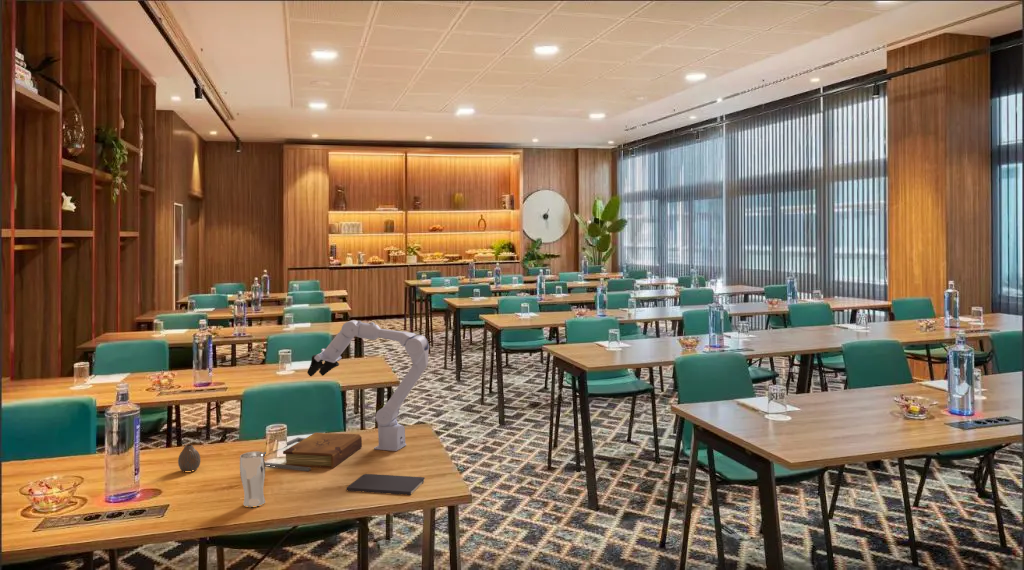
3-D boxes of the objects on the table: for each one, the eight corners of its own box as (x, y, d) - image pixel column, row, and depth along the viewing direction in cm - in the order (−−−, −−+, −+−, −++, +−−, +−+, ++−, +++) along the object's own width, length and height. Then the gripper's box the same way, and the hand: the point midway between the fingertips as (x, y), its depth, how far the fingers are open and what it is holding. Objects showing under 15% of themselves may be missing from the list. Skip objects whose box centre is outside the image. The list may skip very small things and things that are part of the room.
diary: (333, 470, 235) (332, 453, 234) (283, 467, 239) (282, 451, 238) (362, 449, 257) (361, 433, 257) (315, 447, 261) (315, 432, 261)
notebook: (346, 492, 214) (411, 496, 209) (346, 487, 213) (410, 491, 209) (364, 478, 226) (425, 482, 221) (364, 473, 226) (425, 477, 221)
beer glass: (258, 509, 200) (255, 459, 199) (237, 508, 202) (234, 458, 201) (271, 500, 207) (269, 451, 206) (250, 499, 208) (247, 450, 207)
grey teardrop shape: (175, 471, 236) (173, 446, 235) (195, 465, 241) (194, 441, 241) (183, 475, 231) (182, 449, 231) (204, 470, 236) (202, 445, 236)
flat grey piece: (357, 445, 260) (357, 443, 260) (308, 471, 232) (308, 468, 232) (297, 439, 270) (297, 437, 270) (243, 463, 242) (243, 461, 242)
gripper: (340, 340, 264) (319, 366, 266) (319, 339, 251) (296, 367, 252) (352, 352, 262) (331, 378, 264) (331, 352, 249) (309, 380, 250)
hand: (315, 374), depth 258 cm, fingers open, 7 cm apart
